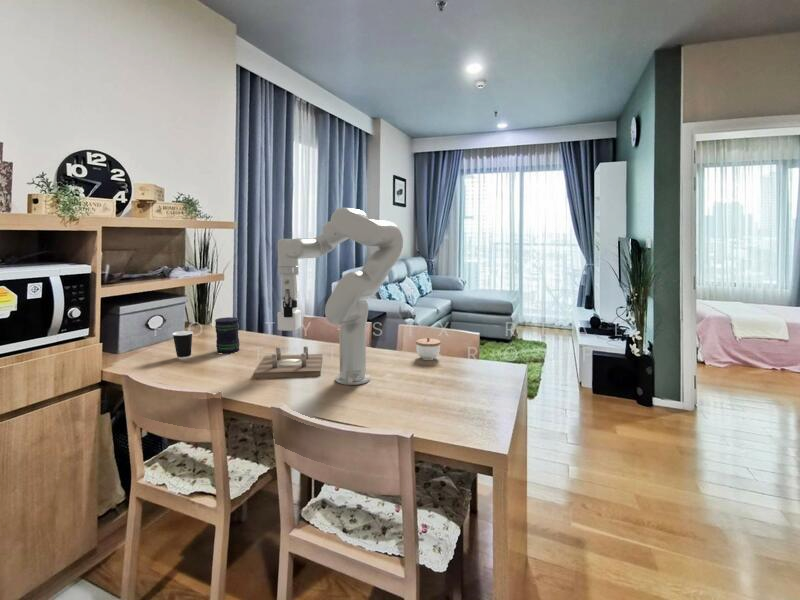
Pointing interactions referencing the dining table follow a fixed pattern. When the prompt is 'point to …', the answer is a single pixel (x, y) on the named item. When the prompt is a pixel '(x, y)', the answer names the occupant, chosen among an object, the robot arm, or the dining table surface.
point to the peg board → (289, 365)
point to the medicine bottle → (289, 318)
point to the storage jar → (227, 335)
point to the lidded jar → (428, 348)
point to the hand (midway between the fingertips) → (289, 314)
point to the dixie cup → (183, 343)
